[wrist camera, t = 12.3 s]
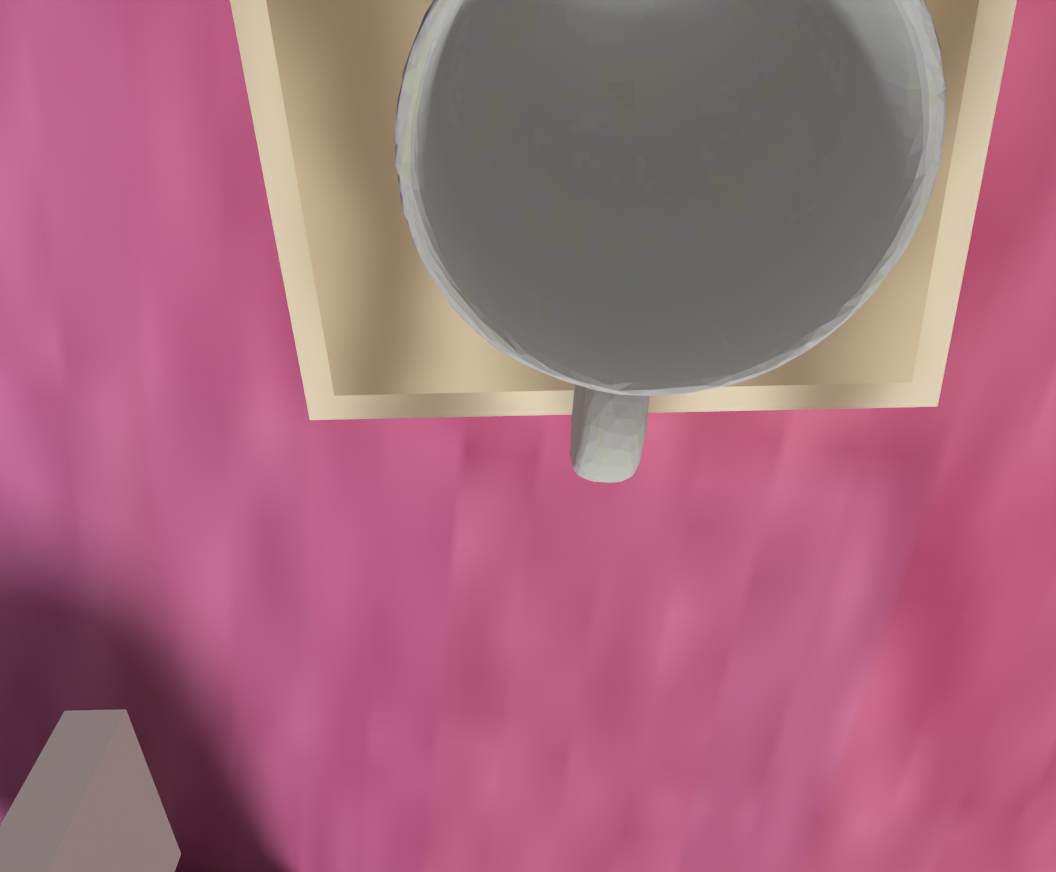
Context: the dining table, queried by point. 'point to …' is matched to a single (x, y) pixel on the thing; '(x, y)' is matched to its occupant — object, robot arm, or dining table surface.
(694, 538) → the dining table surface
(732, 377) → the teacup
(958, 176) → the beige tray
